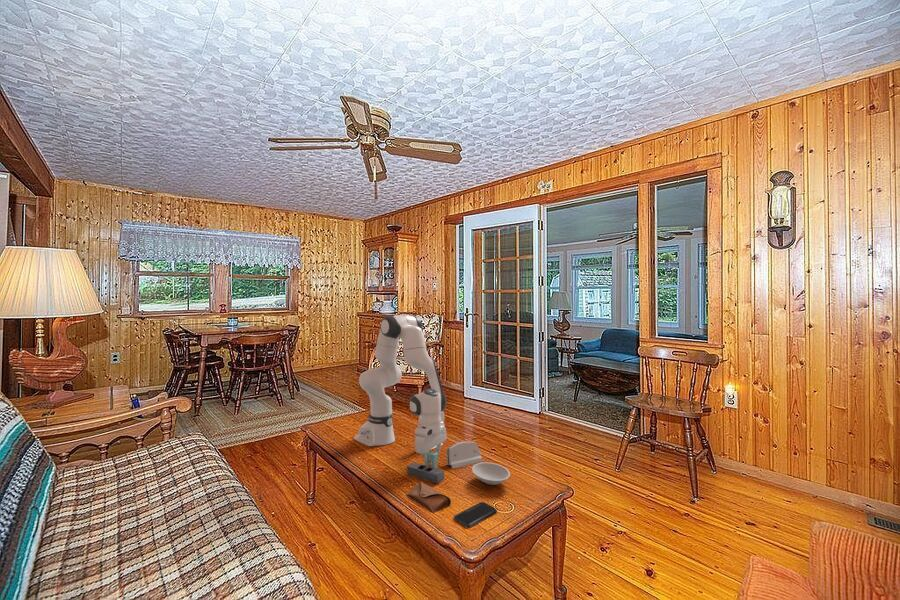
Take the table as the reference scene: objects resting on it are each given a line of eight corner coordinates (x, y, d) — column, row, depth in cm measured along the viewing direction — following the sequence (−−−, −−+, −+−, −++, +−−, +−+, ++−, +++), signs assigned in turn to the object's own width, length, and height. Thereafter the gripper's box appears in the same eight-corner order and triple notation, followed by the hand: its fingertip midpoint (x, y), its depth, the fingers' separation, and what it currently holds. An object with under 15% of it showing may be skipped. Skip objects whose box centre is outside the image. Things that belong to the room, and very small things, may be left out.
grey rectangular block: (407, 474, 171) (407, 466, 171) (413, 470, 175) (413, 462, 175) (437, 483, 162) (437, 475, 162) (444, 479, 166) (444, 470, 166)
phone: (498, 509, 142) (468, 526, 132) (498, 513, 142) (468, 529, 132) (482, 501, 148) (452, 516, 138) (482, 504, 148) (452, 519, 138)
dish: (518, 487, 160) (518, 474, 160) (490, 497, 152) (490, 484, 152) (491, 470, 175) (491, 459, 174) (464, 479, 167) (464, 467, 167)
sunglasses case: (403, 494, 154) (410, 477, 156) (415, 498, 158) (422, 481, 160) (434, 513, 141) (441, 494, 143) (446, 516, 145) (453, 498, 147)
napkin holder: (451, 468, 176) (448, 445, 179) (447, 468, 180) (443, 445, 183) (483, 461, 184) (479, 438, 187) (478, 461, 188) (474, 439, 191)
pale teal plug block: (424, 465, 180) (424, 452, 180) (427, 463, 182) (427, 450, 182) (434, 468, 177) (434, 455, 176) (438, 466, 179) (438, 453, 179)
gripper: (438, 418, 189) (438, 447, 190) (412, 431, 172) (412, 463, 172) (449, 421, 186) (449, 450, 186) (423, 434, 169) (424, 466, 169)
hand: (431, 456), depth 179 cm, fingers open, 8 cm apart
